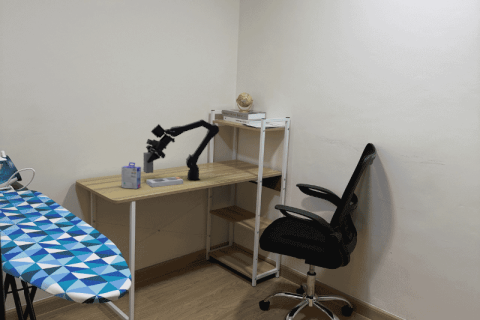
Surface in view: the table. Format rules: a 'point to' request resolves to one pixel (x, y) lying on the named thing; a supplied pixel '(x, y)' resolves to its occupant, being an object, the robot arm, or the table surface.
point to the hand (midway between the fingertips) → (146, 161)
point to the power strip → (164, 181)
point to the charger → (148, 166)
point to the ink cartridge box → (131, 176)
